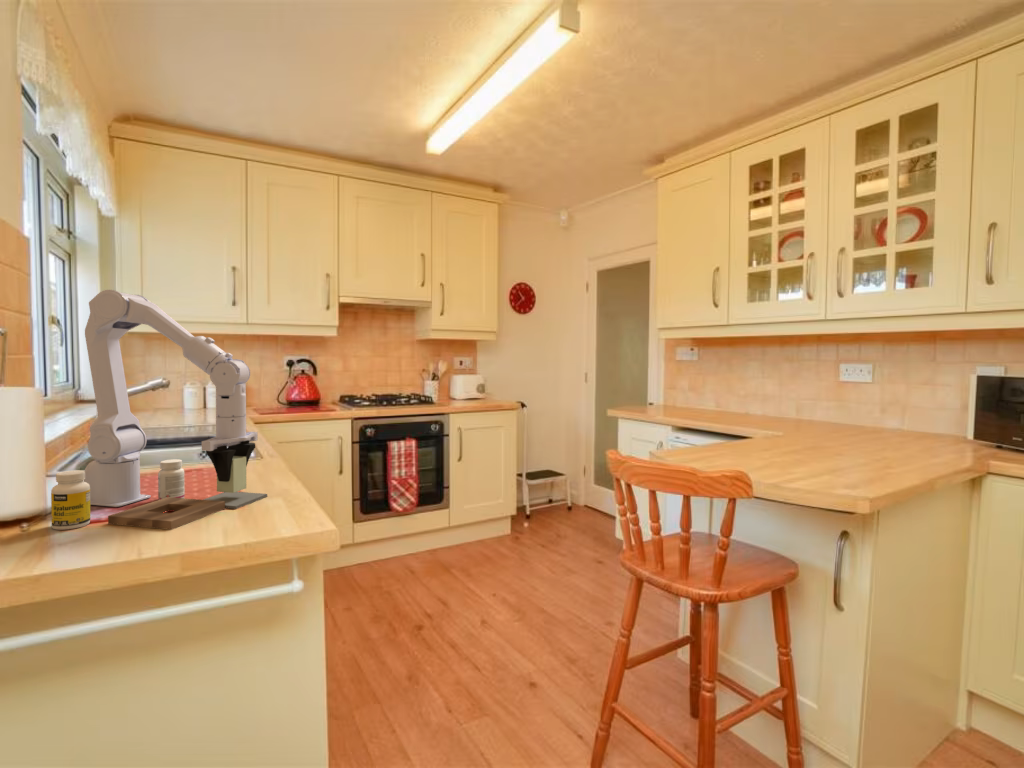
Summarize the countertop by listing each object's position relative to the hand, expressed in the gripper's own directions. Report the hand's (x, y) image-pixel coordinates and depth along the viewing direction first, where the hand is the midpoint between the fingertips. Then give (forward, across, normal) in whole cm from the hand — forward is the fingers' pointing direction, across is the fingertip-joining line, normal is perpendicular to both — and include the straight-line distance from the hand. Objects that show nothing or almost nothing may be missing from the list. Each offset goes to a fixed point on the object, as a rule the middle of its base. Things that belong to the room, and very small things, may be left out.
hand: (231, 478), depth 112 cm
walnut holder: (+5, -12, +4) cm, 14 cm away
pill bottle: (+5, -2, +13) cm, 14 cm away
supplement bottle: (+5, -21, +16) cm, 27 cm away
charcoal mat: (+5, 0, 0) cm, 5 cm away
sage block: (+2, 0, 0) cm, 2 cm away
